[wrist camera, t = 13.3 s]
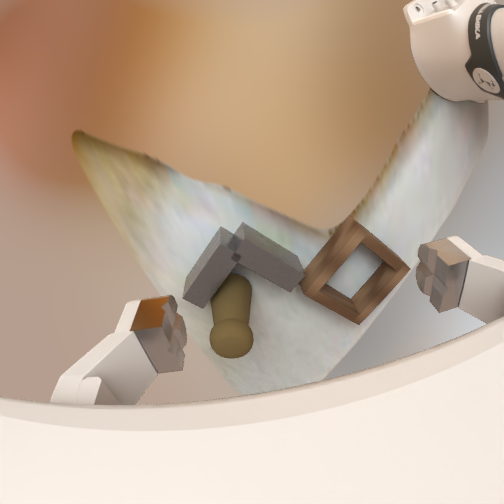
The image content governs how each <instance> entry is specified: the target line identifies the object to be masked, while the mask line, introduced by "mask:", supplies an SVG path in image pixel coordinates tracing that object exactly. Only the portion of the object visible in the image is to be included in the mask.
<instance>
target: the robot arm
mask: <svg viewBox="0 0 504 504" xmlns="http://www.w3.org/2000/svg"><path fill="white" fill-rule="evenodd" d="M415 8H417V10H418V11H417V10H416V9H415ZM403 12H404V16H405V18H406V21H407V23H408V25H409V29H410V44H411V50H412V55H413V58H414V61H415V64H416V66H417V68H418V70H419V72H420V74H421V76H422V77H423V79H424V80H425V81H426V83H427V84H428V85H429V86H430V87H431V89H433V90H434V91H435V92H436V93H437V94H438V95H440V96H441V97H443V98H445V99H448V100H451V101H464V100H472V101H474V102H477V103H485V102H486V100H504V5H500V4H497V3H496V2H495V1H494V0H414V1H412V2H410V3H409V4H407V5H406V6H405V7H404V9H403ZM418 257H419V259H420V260H421V262H420V263H419V265H418V266H417V269H416V279H417V284H418V286H419V288H420V290H421V291H422V292H423V293H424V294H426V295H429V296H430V302H431V303H432V305H433V306H434V307H435V308H436V309H437V311H438V312H439V313H440V312H443V311H447V310H450V309H452V308H456V307H459V308H460V309H462V310H464V311H465V312H467V313H469V314H471V315H473V316H474V317H476V318H478V319H480V320H481V321H483V322H485V323H487V324H486V325H484V326H482V327H480V328H478V329H476V330H473V331H471V332H469V333H466V334H464V335H462V336H459V337H457V338H454V339H452V340H449V341H447V342H444V343H442V344H439V345H437V346H434V347H432V348H429V349H426V350H424V351H421V352H418V353H415V354H412V355H409V356H406V357H403V358H400V359H397V360H394V361H391V362H388V363H385V364H382V365H378V366H375V367H371V368H368V369H365V370H361V371H358V372H354V373H350V374H347V375H343V376H339V377H335V378H331V379H327V380H323V381H318V382H314V383H309V384H305V385H300V386H295V387H290V388H285V389H280V390H275V391H269V392H263V393H257V394H251V395H244V396H237V397H230V398H222V399H213V400H205V401H194V402H182V403H169V404H168V403H167V404H147V405H136V403H137V402H138V400H139V399H140V398H141V396H142V395H143V394H144V393H145V391H146V390H147V389H148V387H149V386H150V385H151V384H152V382H153V381H154V380H155V378H156V377H157V376H158V373H167V372H174V371H182V370H183V366H184V358H185V354H184V352H183V350H182V349H183V348H184V346H185V345H186V342H187V332H186V327H185V323H184V320H183V318H182V316H181V315H179V314H178V313H176V312H177V306H178V305H177V303H176V301H175V298H174V297H173V296H172V295H167V296H160V297H153V298H147V299H139V300H134V301H129V302H127V304H126V306H125V308H124V311H123V313H122V316H121V318H120V320H119V323H118V325H117V327H116V330H115V333H114V334H109V335H108V336H107V337H106V338H105V339H103V340H102V341H101V342H100V343H99V344H98V345H97V346H95V347H94V348H93V349H92V350H91V351H89V352H88V353H87V354H86V355H85V356H83V357H82V358H81V359H80V360H79V361H78V362H76V363H75V364H74V365H73V366H72V367H71V368H69V369H68V370H67V371H66V372H65V373H64V374H62V375H61V377H60V379H59V381H58V383H57V386H56V388H55V390H54V393H53V395H52V398H51V400H50V402H41V401H32V400H23V399H16V398H9V397H2V396H0V504H504V260H500V259H497V258H494V257H491V256H487V255H484V256H482V255H481V254H480V253H479V252H477V251H476V250H475V249H474V248H472V247H471V246H470V245H468V244H467V243H466V242H465V241H463V240H462V239H460V238H459V237H458V236H451V237H447V238H444V239H441V240H437V241H433V242H429V243H426V244H422V245H420V247H419V250H418Z"/></svg>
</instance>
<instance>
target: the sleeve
mask: <svg viewBox="0 0 504 504" xmlns="http://www.w3.org/2000/svg"><path fill="white" fill-rule="evenodd" d="M360 242H361V243H363V244H364V245H365V246H366V247H368V248H369V249H370V250H372V251H373V252H374V253H375V254H377V255H378V256H379V257H380V258H382V259H383V260H384V262H383V263H382V264H381V266H380V267H379V268H378V269H377V270H376V271H375V273H374V274H373V275H372V276H371V277H370V278H369V279H368V281H367V282H366V283H365V284H364V285H363V286H362V287H361V288H360V289H359V291H358V292H357V293H356V294H355V295H354V296H353V297H352V298H351V299H350V298H348V297H346V296H345V295H343V294H342V293H340V292H338V291H337V290H335V289H333V288H332V287H330V286H329V285H327V284H325V283H326V282H327V281H328V280H329V279H330V278H331V276H332V275H333V274H334V273H335V272H336V271H337V269H338V268H339V267H340V266H341V265H342V264H343V262H344V261H345V260H346V259H347V258H348V257H349V255H350V254H351V253H352V252H353V251H354V249H355V248H356V247H357V246H358V245H359V243H360ZM409 270H410V268H409V267H408V266H407V265H406V264H405V263H404V261H403V260H402V259H401V258H400V257H399V256H398V255H396V254H395V253H394V252H393V251H392V250H391V249H390V248H388V247H387V246H386V245H385V244H384V243H382V242H381V241H380V240H379V239H378V238H376V237H375V236H374V235H373V234H372V233H370V232H369V231H368V230H367V229H366V228H364V227H363V226H362V225H361V224H359V223H358V222H357V221H356V220H354V219H353V218H352V217H351V216H348V217H347V218H346V220H345V221H344V222H343V223H342V225H341V226H340V227H339V228H338V230H337V231H336V232H335V233H334V235H333V236H332V237H331V238H330V240H329V241H328V242H327V243H326V244H325V246H324V247H323V248H322V249H321V250H320V252H319V253H318V254H317V255H316V257H315V258H314V259H313V260H312V261H311V262H310V264H309V265H308V266H307V267H306V268H305V270H304V273H305V276H304V277H303V279H302V280H301V281H300V282H299V284H300V286H301V289H302V292H303V294H304V295H306V296H308V297H310V298H311V299H313V300H315V301H317V302H318V303H320V304H322V305H324V306H326V307H327V308H329V309H331V310H333V311H335V312H336V313H338V314H340V315H342V316H343V317H345V318H347V319H349V320H351V321H352V322H354V323H356V324H358V325H359V324H360V323H361V322H362V321H363V320H364V319H365V318H366V317H367V316H368V315H369V314H370V313H371V312H372V311H373V310H374V309H375V308H376V307H377V306H378V305H379V304H380V303H381V301H382V300H383V299H384V298H385V297H386V296H387V295H388V294H389V293H390V292H391V291H392V289H393V288H394V287H395V286H396V285H397V284H398V283H399V282H400V280H401V279H402V278H403V277H404V276H405V275H406V274H407V272H408V271H409Z"/></svg>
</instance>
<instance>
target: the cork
mask: <svg viewBox="0 0 504 504" xmlns="http://www.w3.org/2000/svg"><path fill="white" fill-rule="evenodd" d="M251 294H252V288H251V284H250V283H249V281H248V280H247V279H246V278H245V277H243V276H241V275H238V274H232V273H229V275H228V276H227V277H226V279H225V280H224V281H223V283H222V284H221V285H220V287H219V288H218V289H217V291H216V292H215V293H214V295H213V296H212V297H211V299H210V300H211V307H212V314H213V321H214V327H213V328H212V330H211V333H210V344H211V347H212V349H213V350H214V351H215V352H216V353H217V354H218V355H220V356H222V357H225V358H239V357H242V356H244V355H245V354H247V353H248V352H249V350H250V349H251V348H252V345H253V341H254V340H253V332H252V330H251V328H250V327H249V325H248V324H249V314H250V304H251Z"/></svg>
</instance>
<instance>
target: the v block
mask: <svg viewBox="0 0 504 504" xmlns="http://www.w3.org/2000/svg"><path fill="white" fill-rule="evenodd" d="M237 263H239V264H241V265H243V266H244V267H246V268H248V269H250V270H251V271H253V272H255V273H257V274H259V275H260V276H262V277H264V278H266V279H267V280H269V281H271V282H273V283H275V284H276V285H278V286H280V287H282V288H284V289H285V290H287V291H289V292H291V291H292V290H293V289H294V288H295V287H296V285H297V284H298V283H299V282H300V281H301V280H302V279H303V277H304V276H305V273H304V271H303V268H302V266H301V264H300V261H299V259H298V257H297V256H296V255H295V254H293V253H291V252H290V251H288V250H287V249H285V248H283V247H282V246H280V245H279V244H277V243H275V242H274V241H272V240H271V239H269V238H267V237H266V236H264V235H262V234H261V233H259V232H258V231H256V230H254V229H253V228H251V227H249V226H248V225H246V224H245V223H243V222H242V224H241V225H240V227H239V228H238V229H237V231H236V232H235V234H232V233H231V232H229V231H227V230H226V229H224V228H222V227H220V229H219V230H218V232H217V233H216V234H215V236H214V237H213V239H212V240H211V242H210V243H209V245H208V246H207V248H206V249H205V251H204V252H203V254H202V255H201V257H200V258H199V259H198V261H197V262H196V264H195V265H194V267H193V268H192V270H191V271H190V273H189V274H188V276H187V277H186V283H185V288H184V293H183V299H185V300H187V301H189V302H191V303H193V304H195V305H197V306H199V307H201V308H204V307H205V305H206V304H207V303H208V301H209V300H210V299H211V297H212V296H213V295H214V293H215V292H216V291H217V289H218V288H219V287H220V285H221V284H222V283H223V281H224V280H225V279H226V277H227V276H228V275H229V273H230V272H231V271H232V269H233V268H234V267H235V265H236V264H237Z"/></svg>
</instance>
